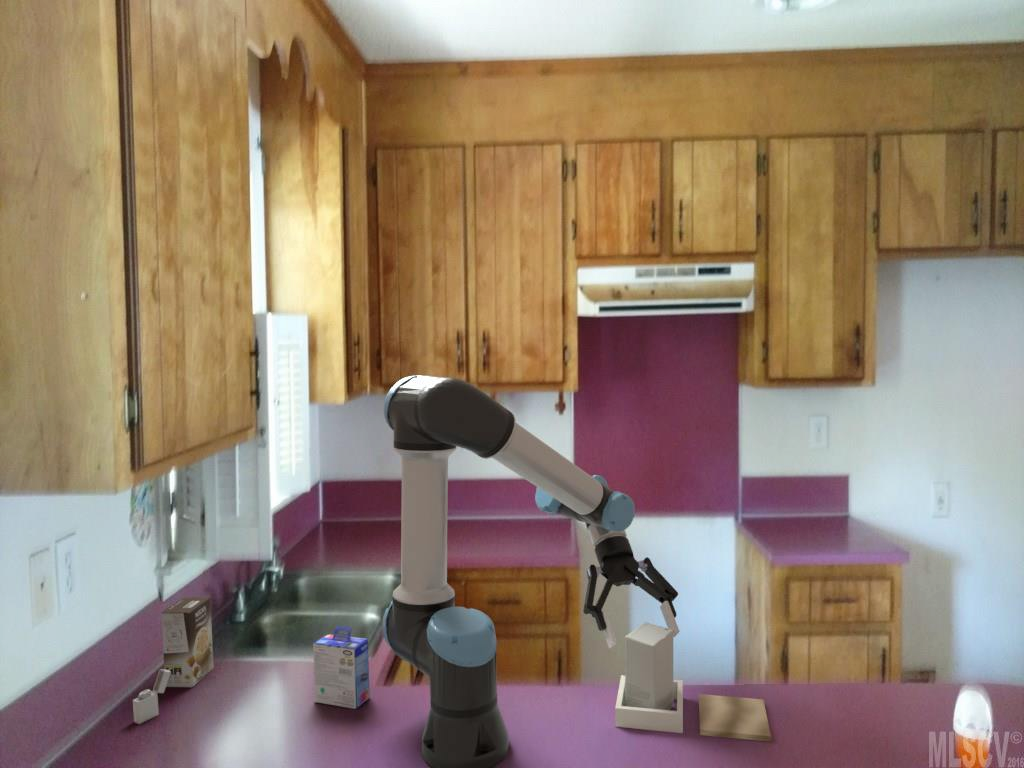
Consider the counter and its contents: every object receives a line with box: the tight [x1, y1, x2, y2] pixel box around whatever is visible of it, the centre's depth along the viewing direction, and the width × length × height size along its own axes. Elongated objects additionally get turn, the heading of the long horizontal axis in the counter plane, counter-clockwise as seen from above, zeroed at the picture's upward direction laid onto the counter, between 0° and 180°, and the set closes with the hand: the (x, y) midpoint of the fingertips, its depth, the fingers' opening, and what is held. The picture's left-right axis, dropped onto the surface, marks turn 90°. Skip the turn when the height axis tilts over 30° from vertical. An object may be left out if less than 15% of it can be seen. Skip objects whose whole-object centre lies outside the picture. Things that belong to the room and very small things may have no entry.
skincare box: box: [624, 621, 674, 711], centre depth 140 cm, size 8×7×16 cm
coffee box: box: [160, 596, 214, 688], centre depth 159 cm, size 9×6×16 cm
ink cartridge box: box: [312, 625, 371, 710], centre depth 147 cm, size 10×6×14 cm, turn 71°
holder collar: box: [614, 674, 684, 734], centre depth 140 cm, size 12×13×4 cm
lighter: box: [132, 668, 171, 725], centre depth 144 cm, size 7×2×8 cm, turn 148°
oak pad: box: [698, 693, 772, 743], centre depth 137 cm, size 12×13×1 cm
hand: (644, 640), depth 145 cm, fingers open, 13 cm apart
